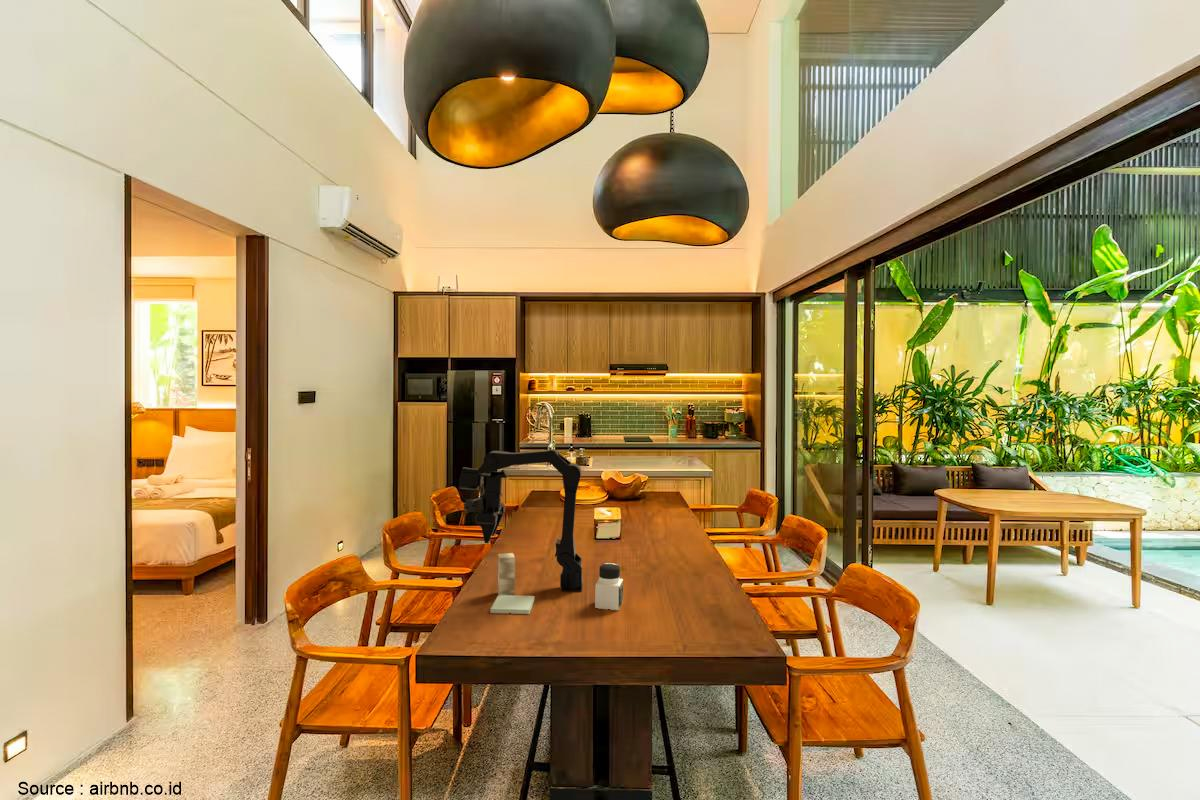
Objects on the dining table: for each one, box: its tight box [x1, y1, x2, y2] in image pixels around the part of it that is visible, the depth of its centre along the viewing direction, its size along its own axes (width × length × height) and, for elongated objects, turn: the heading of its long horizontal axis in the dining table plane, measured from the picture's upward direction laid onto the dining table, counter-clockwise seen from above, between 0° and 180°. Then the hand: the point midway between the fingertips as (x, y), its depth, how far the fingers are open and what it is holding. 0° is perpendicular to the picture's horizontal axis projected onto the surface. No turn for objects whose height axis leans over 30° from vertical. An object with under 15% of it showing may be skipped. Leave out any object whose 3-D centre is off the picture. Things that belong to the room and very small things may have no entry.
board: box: [489, 594, 536, 615], centre depth 169 cm, size 11×11×1 cm
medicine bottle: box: [594, 562, 624, 611], centre depth 170 cm, size 7×7×12 cm
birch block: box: [497, 552, 516, 596], centre depth 179 cm, size 5×5×12 cm
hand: (489, 539), depth 185 cm, fingers open, 9 cm apart
